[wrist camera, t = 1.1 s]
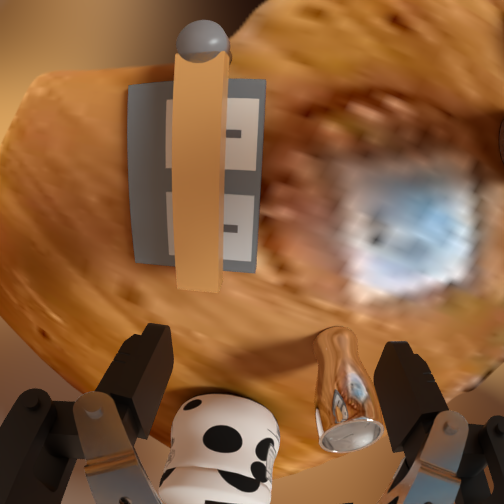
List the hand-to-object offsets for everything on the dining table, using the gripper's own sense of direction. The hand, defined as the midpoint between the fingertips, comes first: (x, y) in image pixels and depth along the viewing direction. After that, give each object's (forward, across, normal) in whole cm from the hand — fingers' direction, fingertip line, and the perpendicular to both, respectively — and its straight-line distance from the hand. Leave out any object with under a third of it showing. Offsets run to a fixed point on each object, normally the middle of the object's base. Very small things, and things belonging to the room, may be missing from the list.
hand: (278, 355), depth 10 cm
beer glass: (+23, -10, +18) cm, 30 cm away
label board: (+23, +9, -2) cm, 24 cm away
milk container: (+23, +4, +36) cm, 43 cm away
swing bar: (+18, +7, -5) cm, 20 cm away
